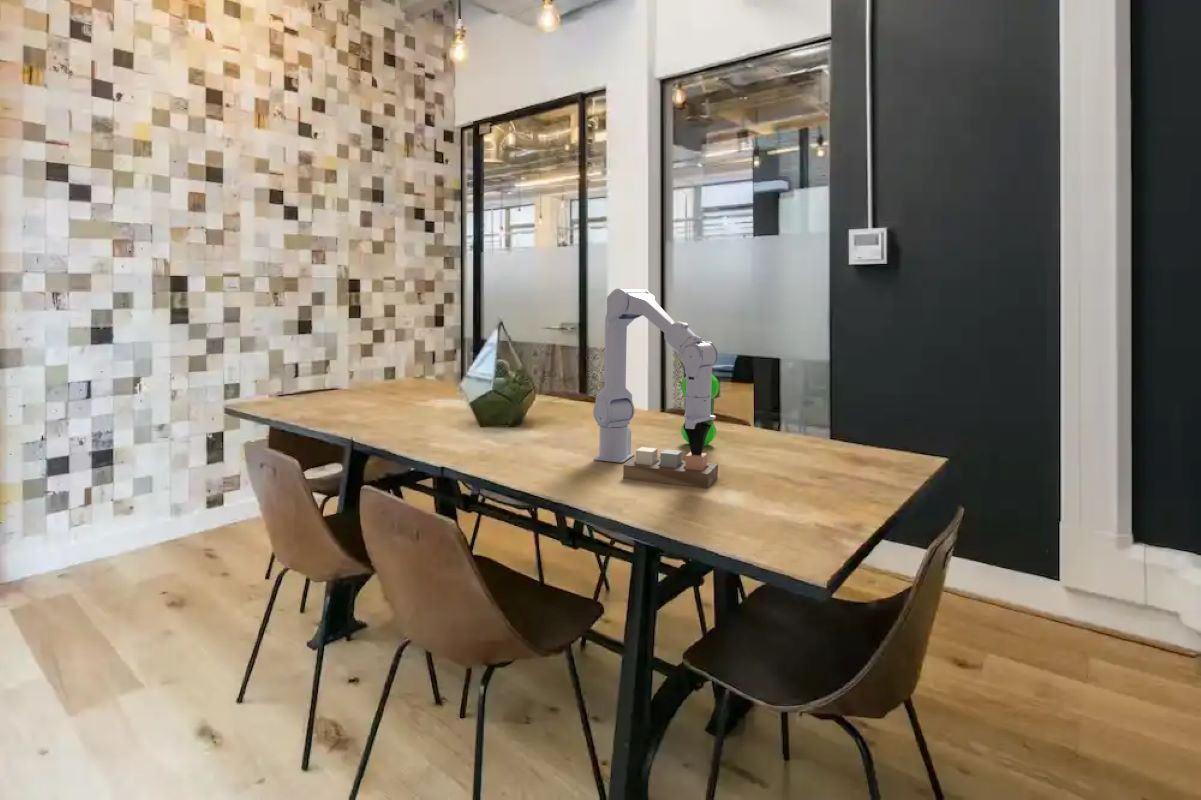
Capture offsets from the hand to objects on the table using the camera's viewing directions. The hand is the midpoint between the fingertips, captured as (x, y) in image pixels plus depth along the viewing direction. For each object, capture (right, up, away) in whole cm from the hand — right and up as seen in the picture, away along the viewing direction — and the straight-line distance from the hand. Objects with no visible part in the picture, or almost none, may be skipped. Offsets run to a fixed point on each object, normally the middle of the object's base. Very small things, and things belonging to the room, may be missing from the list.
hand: (696, 454), depth 164 cm
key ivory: (-11, -3, +5) cm, 13 cm away
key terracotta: (0, -4, +1) cm, 4 cm away
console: (-6, -6, +3) cm, 9 cm away
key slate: (-6, -3, +3) cm, 7 cm away
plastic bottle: (+6, 0, +39) cm, 40 cm away
